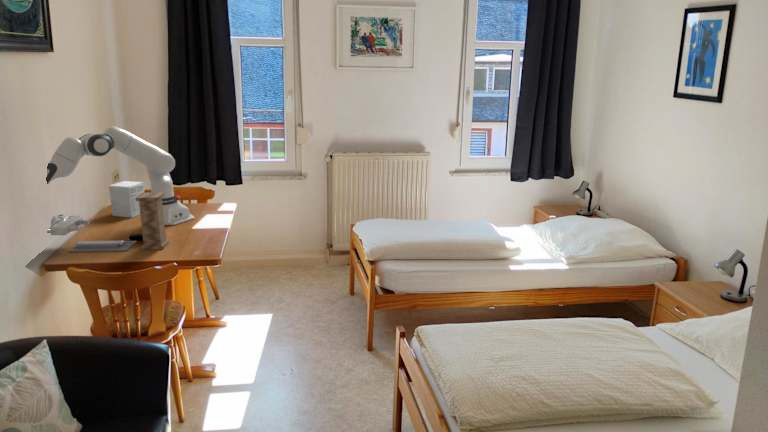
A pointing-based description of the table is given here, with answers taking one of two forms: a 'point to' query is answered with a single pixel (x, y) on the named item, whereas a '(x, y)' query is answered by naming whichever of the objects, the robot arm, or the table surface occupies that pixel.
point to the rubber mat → (104, 248)
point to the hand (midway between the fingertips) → (84, 225)
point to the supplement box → (125, 198)
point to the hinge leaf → (100, 243)
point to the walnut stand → (152, 220)
